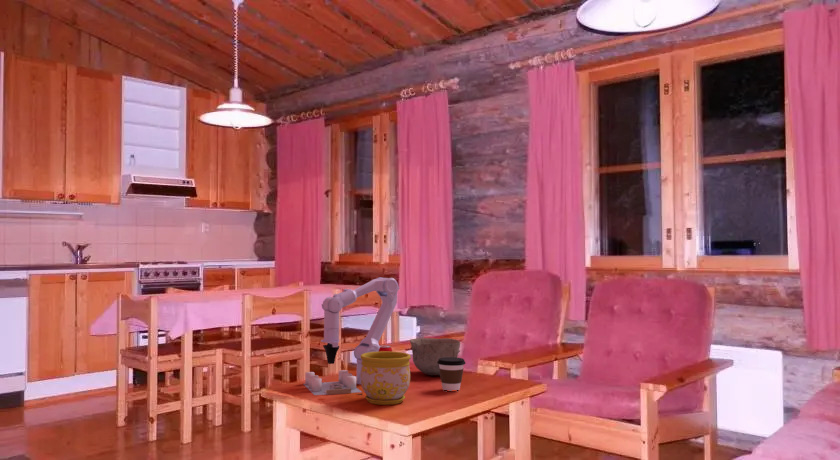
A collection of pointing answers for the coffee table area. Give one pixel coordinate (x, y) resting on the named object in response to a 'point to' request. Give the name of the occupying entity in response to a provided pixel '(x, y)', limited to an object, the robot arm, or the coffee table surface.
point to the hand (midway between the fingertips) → (330, 363)
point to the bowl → (432, 353)
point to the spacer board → (324, 388)
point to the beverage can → (385, 348)
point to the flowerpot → (385, 376)
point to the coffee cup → (451, 372)
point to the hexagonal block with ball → (336, 386)
